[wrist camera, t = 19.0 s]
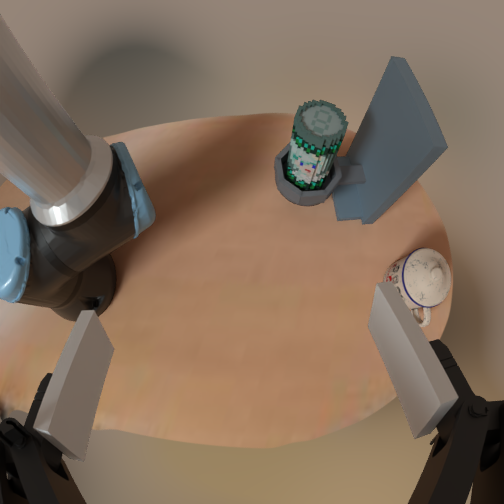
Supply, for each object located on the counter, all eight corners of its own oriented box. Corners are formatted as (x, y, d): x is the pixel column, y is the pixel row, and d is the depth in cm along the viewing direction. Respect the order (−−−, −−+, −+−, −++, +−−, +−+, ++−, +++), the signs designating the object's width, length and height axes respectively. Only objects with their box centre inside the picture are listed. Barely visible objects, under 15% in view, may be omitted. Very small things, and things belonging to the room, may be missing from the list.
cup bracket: (279, 232, 52) (297, 146, 27) (269, 159, 55) (275, 50, 30) (375, 223, 52) (451, 147, 27) (358, 154, 55) (407, 58, 30)
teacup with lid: (377, 262, 50) (406, 245, 39) (420, 257, 50) (455, 239, 39) (386, 331, 48) (419, 331, 36) (430, 322, 48) (467, 319, 36)
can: (280, 186, 47) (289, 129, 33) (292, 155, 49) (304, 94, 34) (318, 199, 47) (341, 147, 32) (328, 168, 48) (351, 110, 33)
